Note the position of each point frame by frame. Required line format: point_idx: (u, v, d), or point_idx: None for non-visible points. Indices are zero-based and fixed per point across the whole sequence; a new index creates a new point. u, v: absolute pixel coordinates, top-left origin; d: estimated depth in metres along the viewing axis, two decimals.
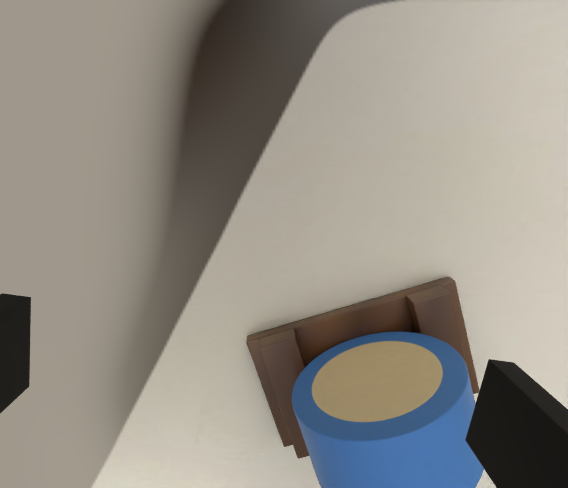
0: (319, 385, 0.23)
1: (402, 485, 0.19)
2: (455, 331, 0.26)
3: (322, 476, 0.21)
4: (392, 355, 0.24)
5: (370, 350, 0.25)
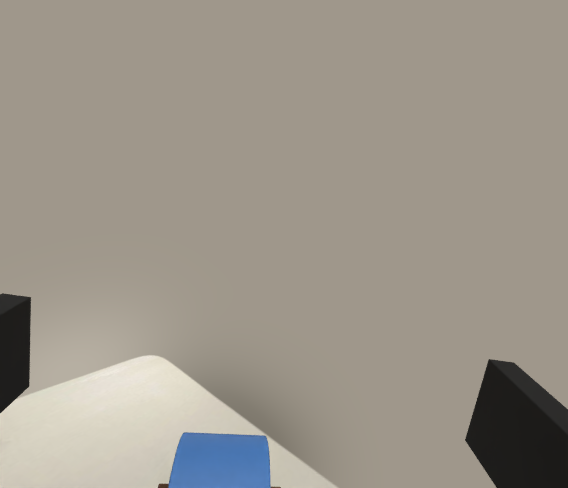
0: None
1: (220, 453, 0.21)
2: None
3: None
4: None
5: None
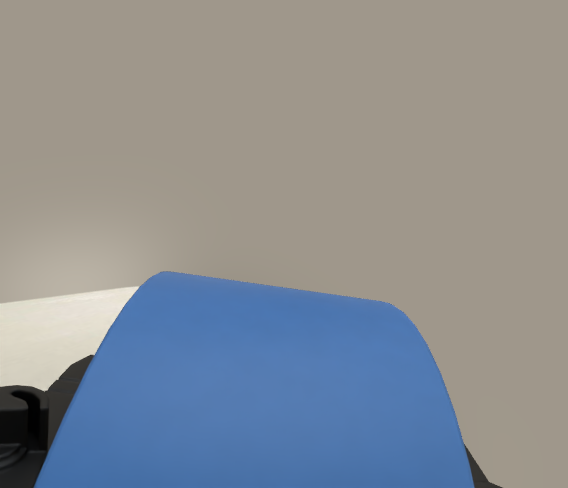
0: None
1: (270, 293, 0.08)
2: None
3: None
4: None
5: None
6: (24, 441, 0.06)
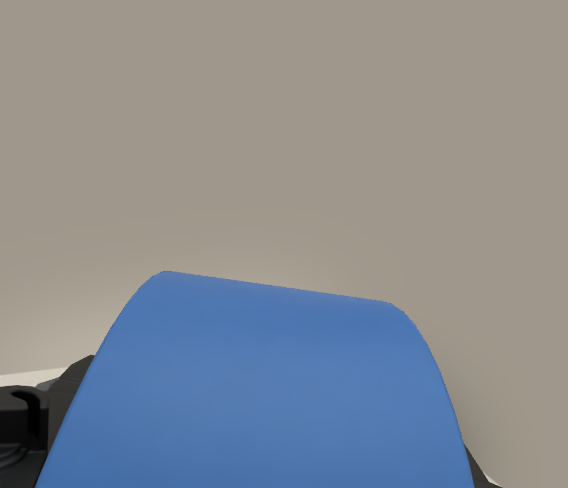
0: None
1: (271, 293, 0.08)
2: None
3: None
4: None
5: None
6: (24, 441, 0.06)
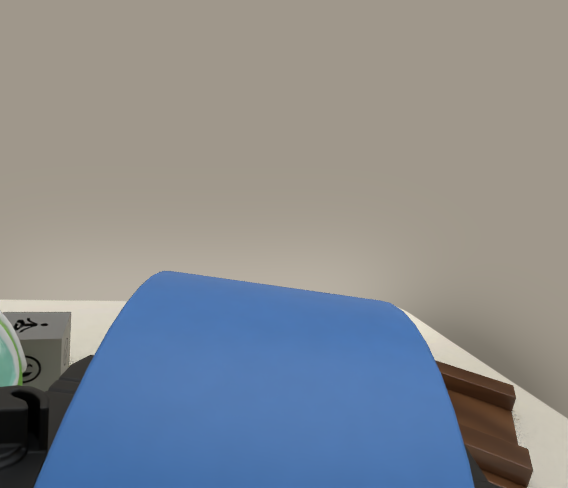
0: None
1: (270, 293, 0.08)
2: (489, 451, 0.29)
3: None
4: None
5: None
6: (24, 441, 0.06)
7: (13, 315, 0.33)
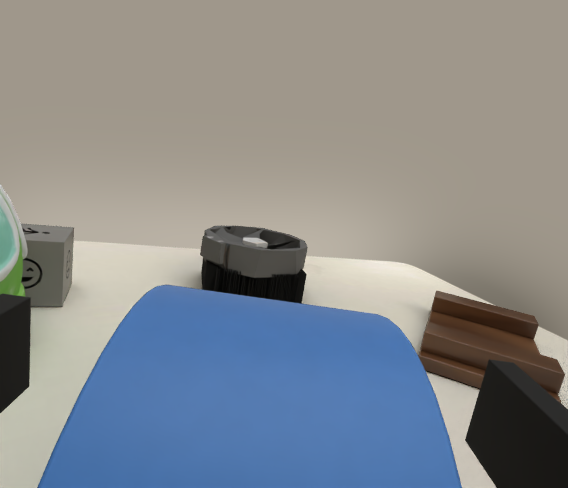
0: None
1: (266, 310, 0.08)
2: (517, 358, 0.27)
3: None
4: None
5: None
6: None
7: None
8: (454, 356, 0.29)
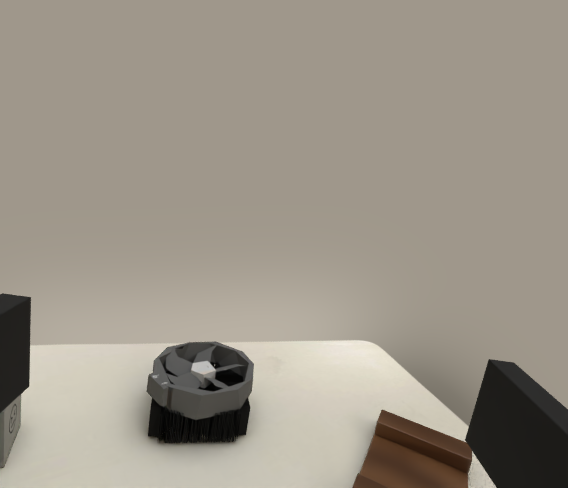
0: None
1: None
2: None
3: None
4: None
5: None
6: None
7: None
8: None
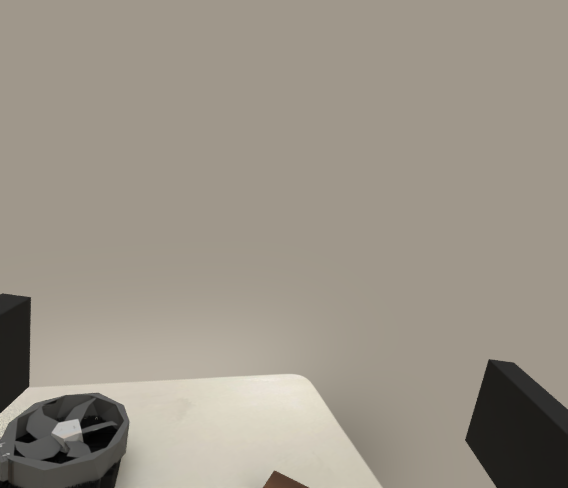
0: None
1: None
2: None
3: None
4: None
5: None
6: None
7: None
8: None
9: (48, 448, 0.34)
